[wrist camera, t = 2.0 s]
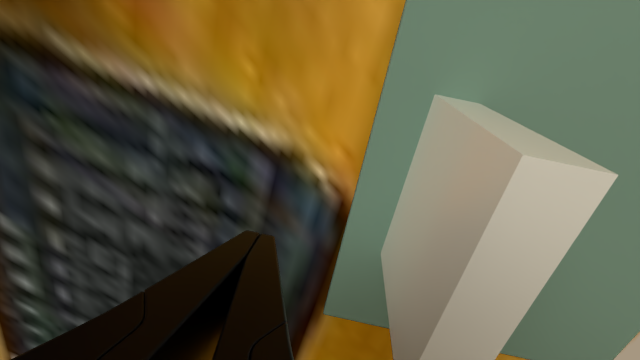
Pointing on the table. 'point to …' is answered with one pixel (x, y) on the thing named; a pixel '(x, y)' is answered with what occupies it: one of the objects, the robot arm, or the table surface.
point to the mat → (535, 114)
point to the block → (479, 230)
